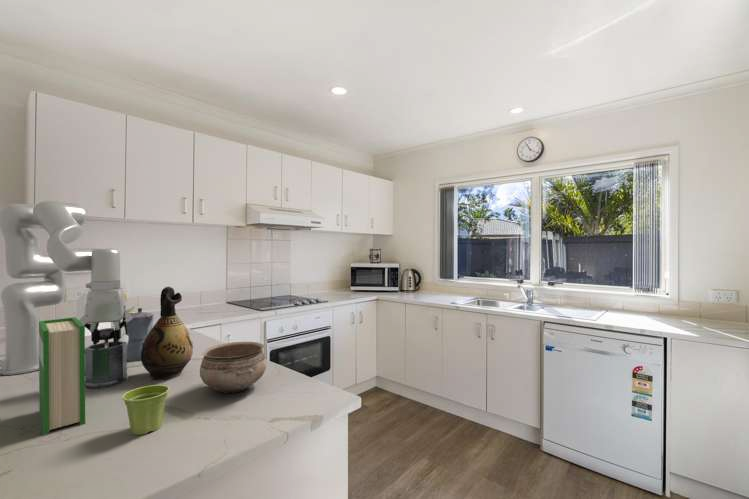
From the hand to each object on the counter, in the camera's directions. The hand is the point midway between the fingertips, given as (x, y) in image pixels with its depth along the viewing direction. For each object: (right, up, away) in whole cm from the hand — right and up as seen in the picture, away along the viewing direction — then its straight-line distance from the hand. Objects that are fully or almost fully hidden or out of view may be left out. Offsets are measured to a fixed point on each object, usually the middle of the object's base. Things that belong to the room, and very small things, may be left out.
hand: (106, 341), depth 114 cm
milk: (-62, -14, +73) cm, 97 cm away
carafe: (-1, -13, -1) cm, 13 cm away
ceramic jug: (+16, -13, +7) cm, 22 cm away
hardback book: (+7, -13, -24) cm, 29 cm away
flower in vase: (-26, -14, +46) cm, 54 cm away
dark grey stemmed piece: (0, -10, 0) cm, 10 cm away
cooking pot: (+44, -13, -7) cm, 47 cm away
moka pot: (-7, -14, +26) cm, 30 cm away
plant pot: (+33, -13, -30) cm, 47 cm away
